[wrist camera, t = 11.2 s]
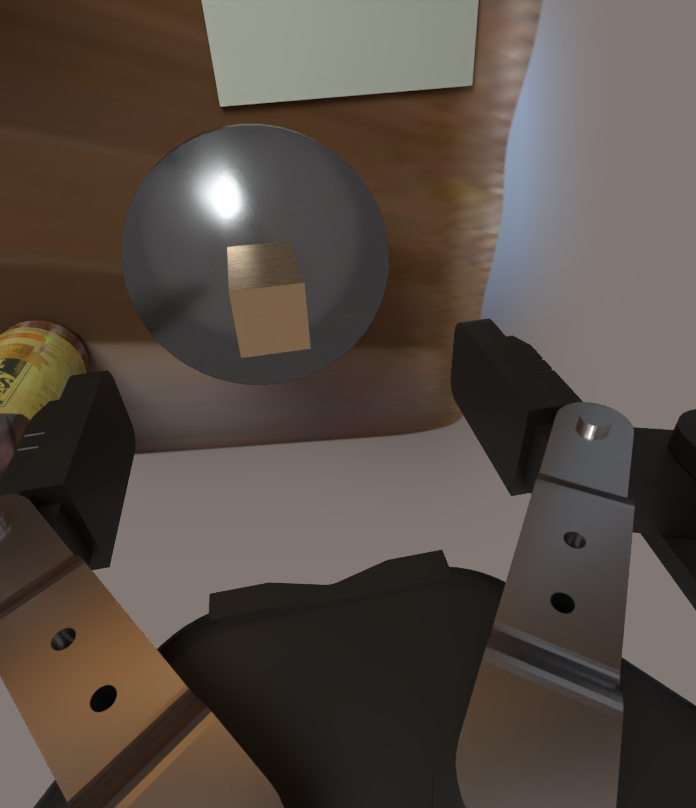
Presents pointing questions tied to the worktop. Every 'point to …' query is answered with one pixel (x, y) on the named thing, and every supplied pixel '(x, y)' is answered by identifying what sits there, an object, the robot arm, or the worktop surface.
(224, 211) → the lid
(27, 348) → the sauce bottle
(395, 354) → the worktop surface
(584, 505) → the robot arm
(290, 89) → the mat
